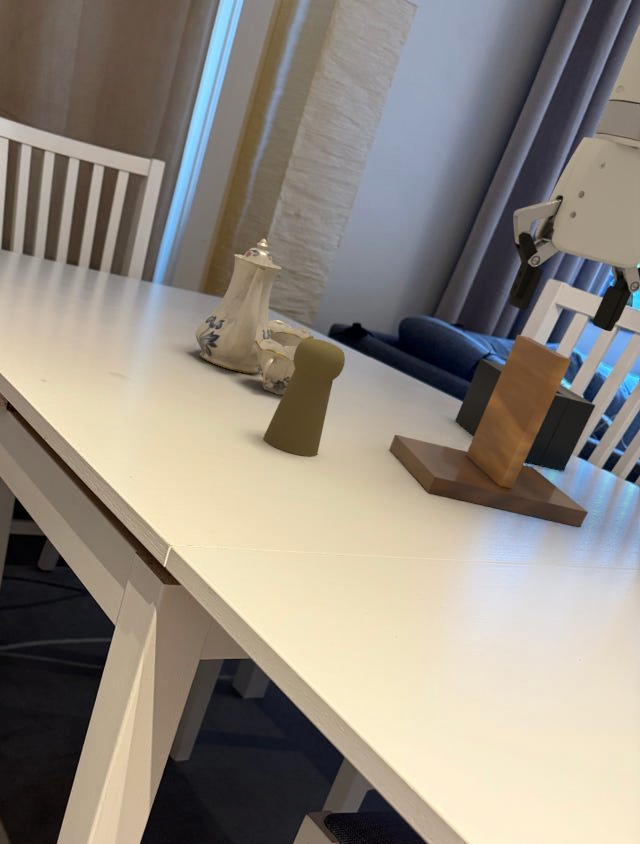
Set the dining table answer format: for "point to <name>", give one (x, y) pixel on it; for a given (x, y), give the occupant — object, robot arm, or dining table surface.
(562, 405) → the grooved black box
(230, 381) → the dining table surface
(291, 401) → the cork
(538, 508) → the breadboard
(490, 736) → the dining table surface
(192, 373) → the dining table surface
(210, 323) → the chinaware
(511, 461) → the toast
